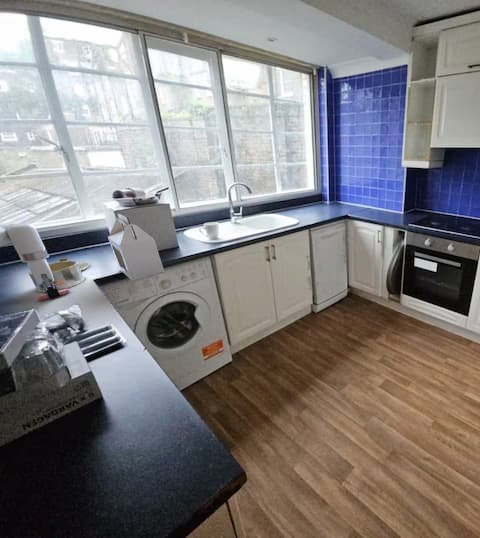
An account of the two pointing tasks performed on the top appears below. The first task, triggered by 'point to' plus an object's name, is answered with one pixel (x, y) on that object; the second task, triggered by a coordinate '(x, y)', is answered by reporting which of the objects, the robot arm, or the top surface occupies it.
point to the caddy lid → (81, 265)
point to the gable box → (134, 250)
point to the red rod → (44, 297)
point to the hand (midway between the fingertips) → (54, 296)
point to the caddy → (62, 275)
